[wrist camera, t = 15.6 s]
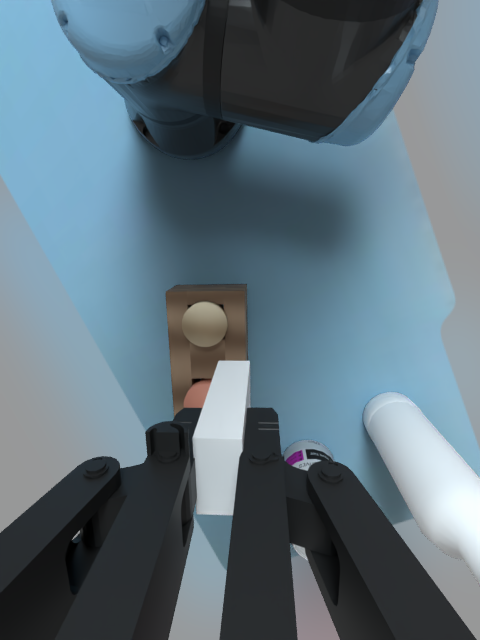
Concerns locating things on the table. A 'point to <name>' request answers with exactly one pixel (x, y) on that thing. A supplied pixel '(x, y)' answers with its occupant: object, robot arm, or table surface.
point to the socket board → (194, 359)
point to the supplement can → (306, 463)
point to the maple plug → (205, 323)
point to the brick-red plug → (197, 394)
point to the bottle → (428, 476)
